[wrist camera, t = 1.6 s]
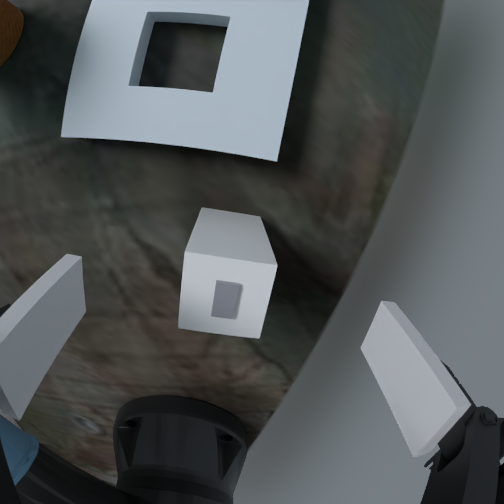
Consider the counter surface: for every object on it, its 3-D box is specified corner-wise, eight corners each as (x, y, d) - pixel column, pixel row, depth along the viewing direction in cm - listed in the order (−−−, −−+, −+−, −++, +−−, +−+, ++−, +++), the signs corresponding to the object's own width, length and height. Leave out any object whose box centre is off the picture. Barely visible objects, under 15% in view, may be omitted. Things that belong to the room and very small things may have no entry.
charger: (249, 269, 22) (259, 341, 14) (194, 261, 21) (177, 330, 14) (260, 216, 20) (278, 267, 13) (201, 207, 20) (184, 253, 12)
